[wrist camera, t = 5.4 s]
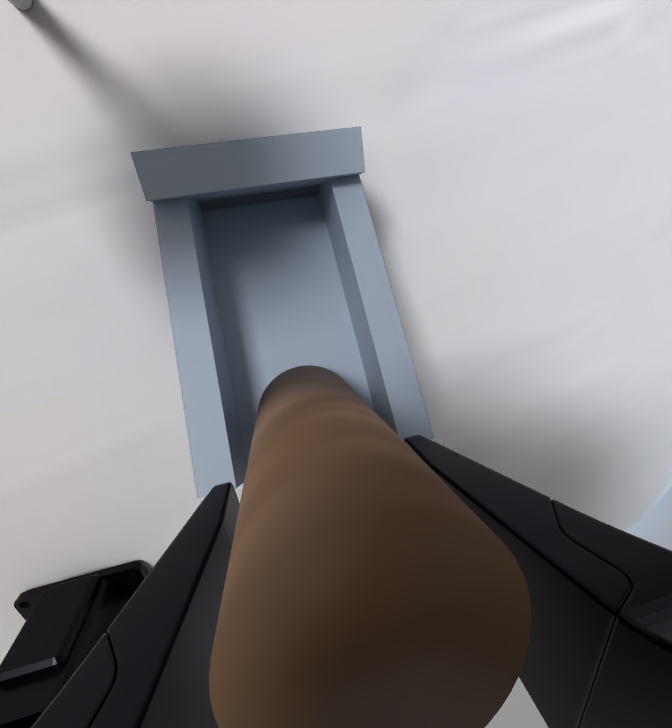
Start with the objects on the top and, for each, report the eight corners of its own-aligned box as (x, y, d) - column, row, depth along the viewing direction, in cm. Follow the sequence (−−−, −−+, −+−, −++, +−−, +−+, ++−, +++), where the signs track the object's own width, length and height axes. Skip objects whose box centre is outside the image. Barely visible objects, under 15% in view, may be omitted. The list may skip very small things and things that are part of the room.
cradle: (366, 383, 18) (444, 496, 11) (231, 413, 17) (211, 561, 10) (339, 140, 14) (441, 34, 6) (154, 161, 13) (-1, 67, 5)
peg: (346, 356, 11) (518, 464, 3) (362, 447, 12) (541, 727, 4) (247, 376, 11) (167, 561, 3) (269, 469, 11) (253, 843, 3)
